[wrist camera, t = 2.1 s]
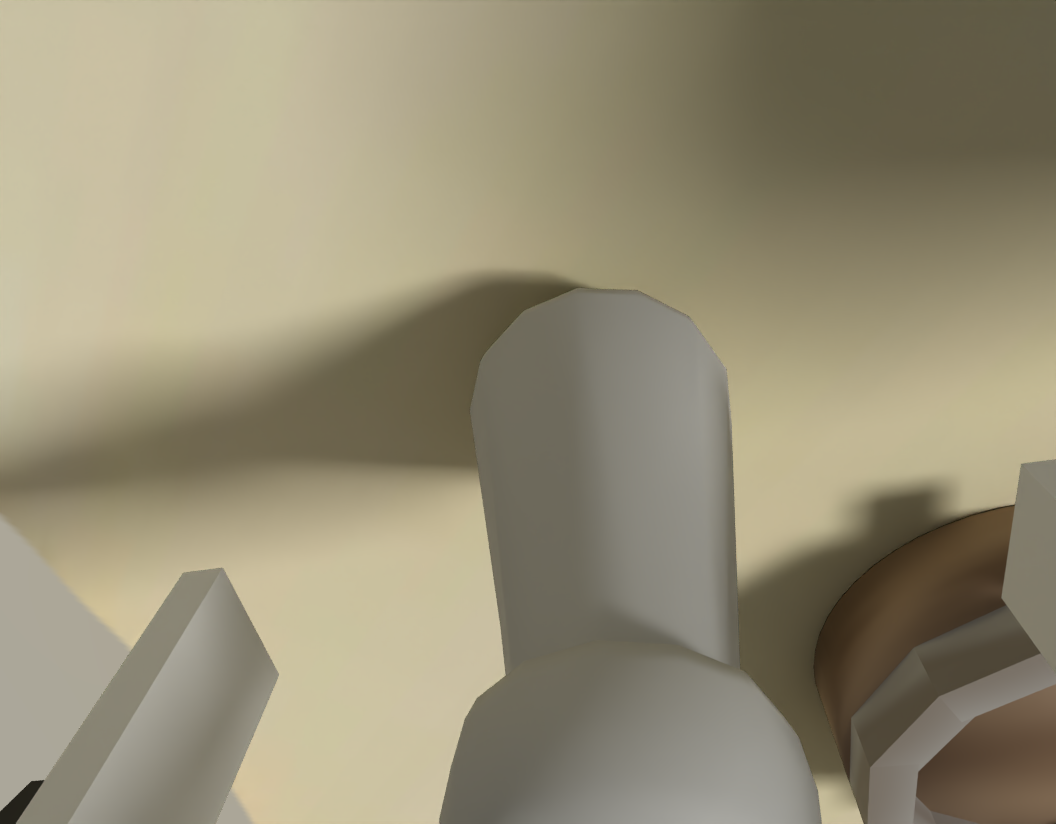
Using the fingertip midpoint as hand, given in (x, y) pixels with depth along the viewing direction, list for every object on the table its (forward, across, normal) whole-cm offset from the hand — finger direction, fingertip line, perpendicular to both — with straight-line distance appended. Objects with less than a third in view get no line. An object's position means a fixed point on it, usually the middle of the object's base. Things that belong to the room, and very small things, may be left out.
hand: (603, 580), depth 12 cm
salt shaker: (+8, 0, 0) cm, 8 cm away
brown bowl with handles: (+7, +11, -12) cm, 18 cm away
